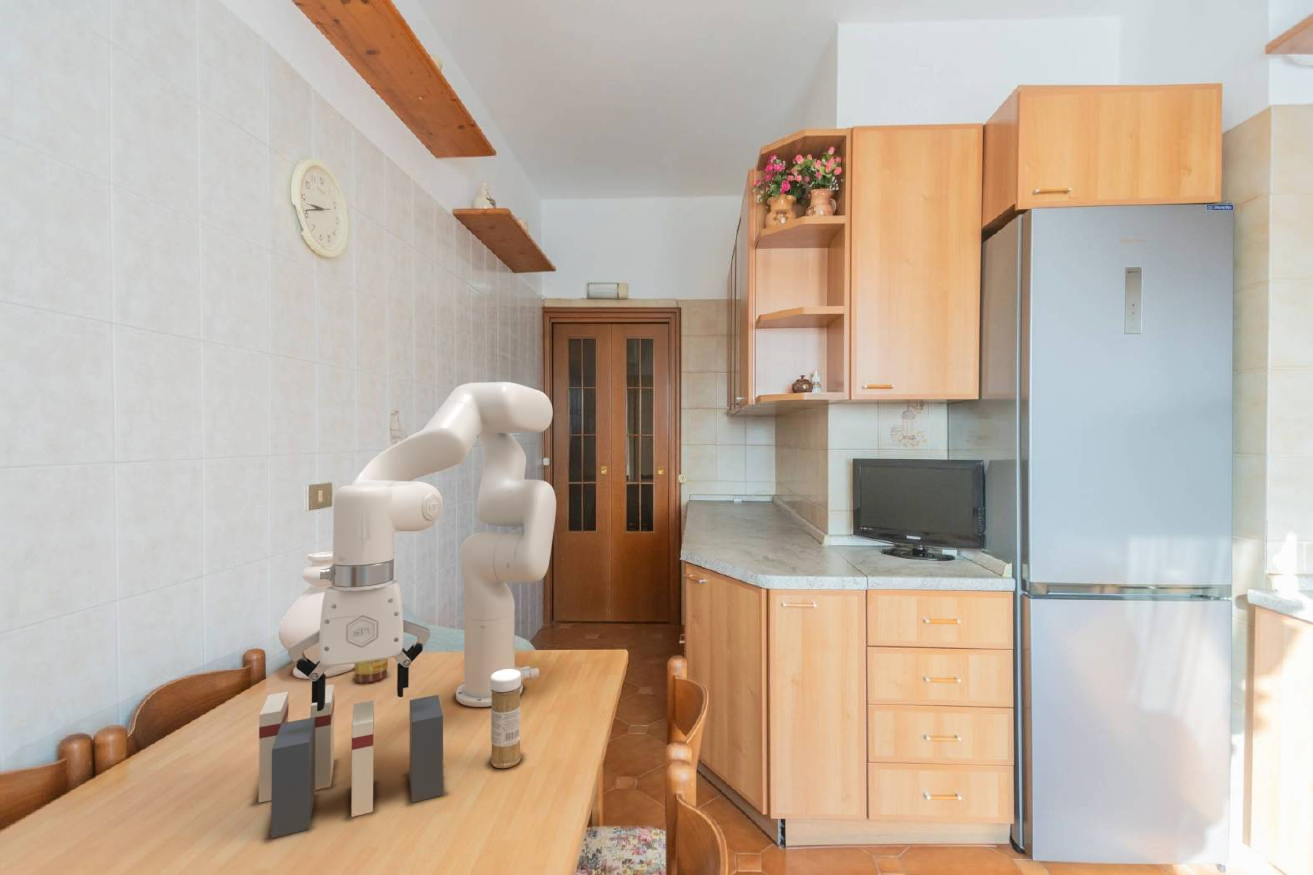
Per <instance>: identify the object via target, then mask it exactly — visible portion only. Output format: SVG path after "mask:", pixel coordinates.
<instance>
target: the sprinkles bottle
mask: <svg viewBox="0 0 1313 875" xmlns="http://www.w3.org/2000/svg"><path fill="white" fill-rule="evenodd" d="M520 685H521V673H520V672H519V671H518V670H515V669H504V670H499V671H497V672H495V673H493V674H492V675H491V678H490V688H491V691H492V706H490V724H491V725H490V737H491V738H490V741H491V742H490V743H491V758H490V763H491V765H492V766H493V767H495V768H497V769H508V768H511V767H514V766H516V765H517V764H518V763H519V762H520V761H521V759H522V754H521V694H520Z"/></svg>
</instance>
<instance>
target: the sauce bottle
mask: <svg viewBox="0 0 1313 875" xmlns="http://www.w3.org/2000/svg"><path fill="white" fill-rule="evenodd" d="M388 662H389V658H388V659H382V660H375V661H368V662H361V663H355V667H354V674H355V675H354V677H355V678H354V679H355V681H356V682H358V683H362V684H363V683H365V684H366V683H368V684H369V683H373V682H377V681H380V680H382V679H384V678H385V677H386V676H387V673H388V668H389V663H388Z"/></svg>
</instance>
